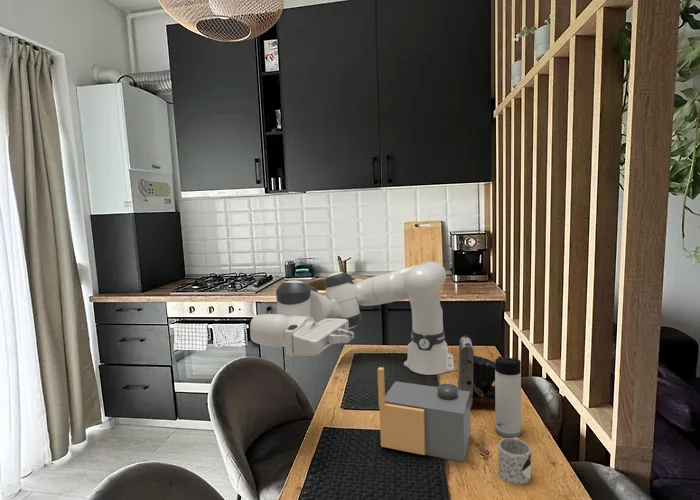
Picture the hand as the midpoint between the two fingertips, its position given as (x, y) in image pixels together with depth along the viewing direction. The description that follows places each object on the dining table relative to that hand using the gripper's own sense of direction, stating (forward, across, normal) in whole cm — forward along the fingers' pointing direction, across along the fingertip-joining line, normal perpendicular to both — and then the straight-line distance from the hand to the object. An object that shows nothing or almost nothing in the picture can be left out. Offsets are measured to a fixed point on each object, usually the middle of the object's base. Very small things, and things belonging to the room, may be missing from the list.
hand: (351, 337), depth 102 cm
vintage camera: (+29, -32, -28) cm, 52 cm away
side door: (+13, 0, -27) cm, 30 cm away
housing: (+17, -7, -28) cm, 34 cm away
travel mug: (+36, -18, -28) cm, 49 cm away
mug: (+38, -2, -28) cm, 47 cm away
